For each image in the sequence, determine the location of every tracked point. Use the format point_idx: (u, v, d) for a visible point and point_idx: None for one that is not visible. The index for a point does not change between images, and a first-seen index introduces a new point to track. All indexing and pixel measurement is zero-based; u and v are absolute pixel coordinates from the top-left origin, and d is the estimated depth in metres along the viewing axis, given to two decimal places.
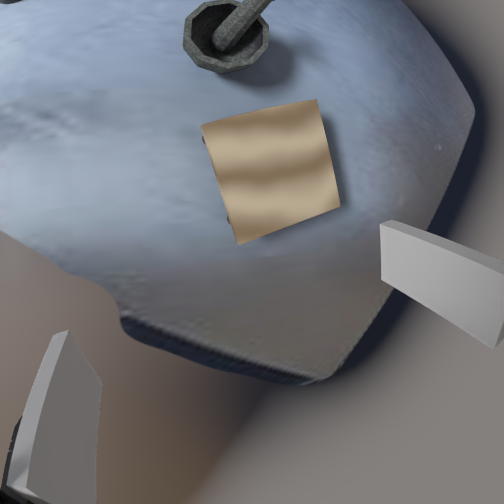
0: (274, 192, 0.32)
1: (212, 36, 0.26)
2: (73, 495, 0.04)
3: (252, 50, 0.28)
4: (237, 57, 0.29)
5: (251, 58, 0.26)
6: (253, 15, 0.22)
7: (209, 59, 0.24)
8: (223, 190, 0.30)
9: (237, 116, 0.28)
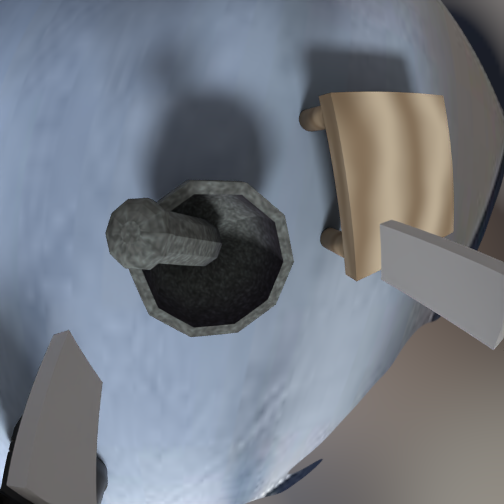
0: (429, 186, 0.21)
1: None
2: (73, 495, 0.04)
3: (225, 194, 0.18)
4: (228, 213, 0.20)
5: (274, 218, 0.17)
6: (191, 234, 0.13)
7: (276, 290, 0.18)
8: None
9: (354, 234, 0.20)
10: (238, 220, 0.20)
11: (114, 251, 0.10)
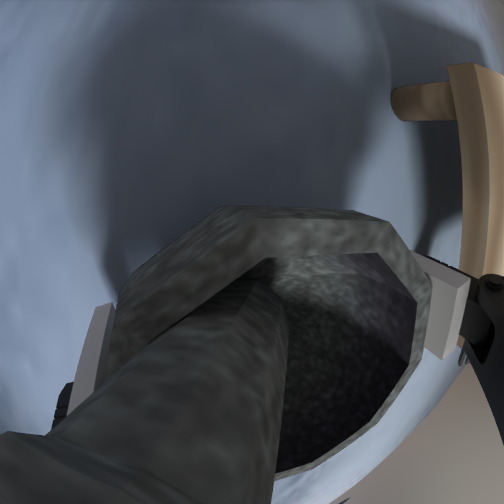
0: None
1: None
2: None
3: None
4: (299, 263, 0.10)
5: (419, 295, 0.07)
6: (277, 409, 0.04)
7: (385, 406, 0.08)
8: None
9: None
10: (314, 276, 0.11)
11: None
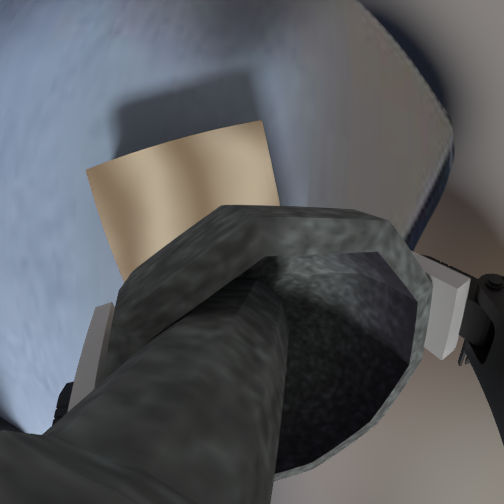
0: None
1: None
2: None
3: None
4: (299, 263, 0.10)
5: (419, 295, 0.07)
6: (276, 409, 0.04)
7: (385, 406, 0.08)
8: None
9: None
10: (314, 275, 0.10)
11: None
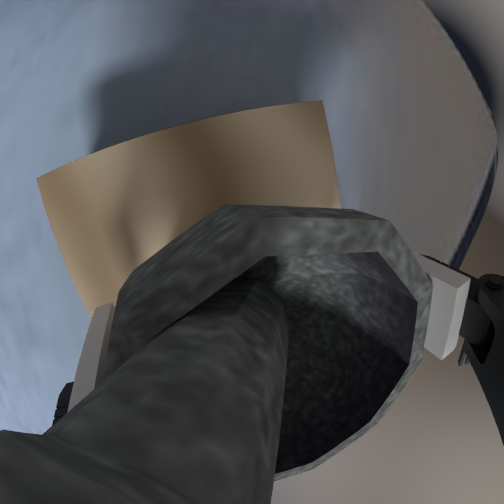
0: None
1: None
2: None
3: None
4: (299, 263, 0.10)
5: (419, 295, 0.07)
6: (276, 409, 0.04)
7: (385, 406, 0.08)
8: None
9: None
10: (314, 275, 0.10)
11: None
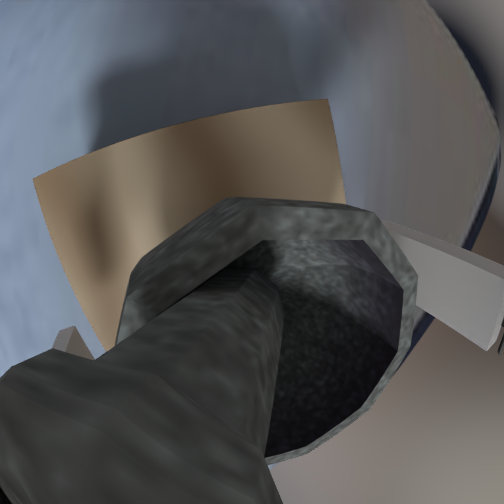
0: None
1: None
2: None
3: None
4: (294, 255, 0.11)
5: (404, 283, 0.08)
6: (272, 371, 0.04)
7: (376, 392, 0.09)
8: None
9: None
10: (308, 267, 0.11)
11: None
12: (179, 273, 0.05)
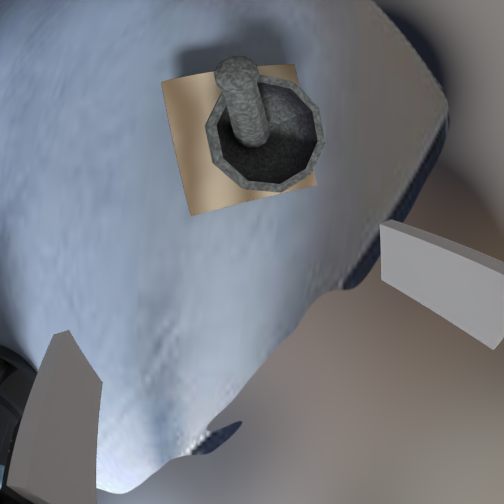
0: None
1: (249, 146, 0.24)
2: (73, 495, 0.04)
3: (275, 97, 0.23)
4: (275, 115, 0.24)
5: (312, 108, 0.21)
6: (260, 97, 0.18)
7: (312, 162, 0.23)
8: (261, 196, 0.30)
9: (183, 178, 0.27)
10: (281, 121, 0.25)
11: (221, 78, 0.15)
12: None
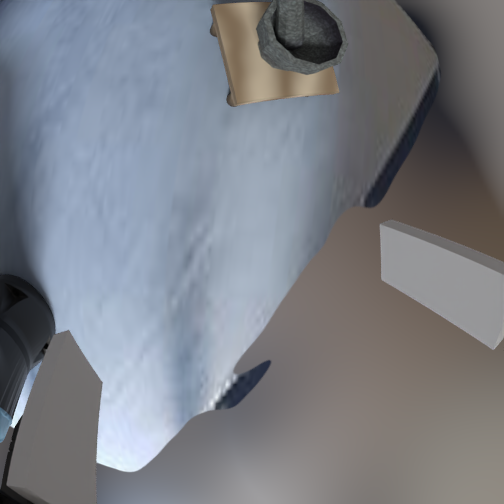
0: None
1: (289, 46, 0.25)
2: (73, 495, 0.04)
3: (306, 16, 0.24)
4: (305, 31, 0.26)
5: (336, 20, 0.22)
6: (303, 2, 0.19)
7: (340, 54, 0.24)
8: (296, 94, 0.31)
9: (231, 73, 0.28)
10: (311, 35, 0.26)
11: None
12: None
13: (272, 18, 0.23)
